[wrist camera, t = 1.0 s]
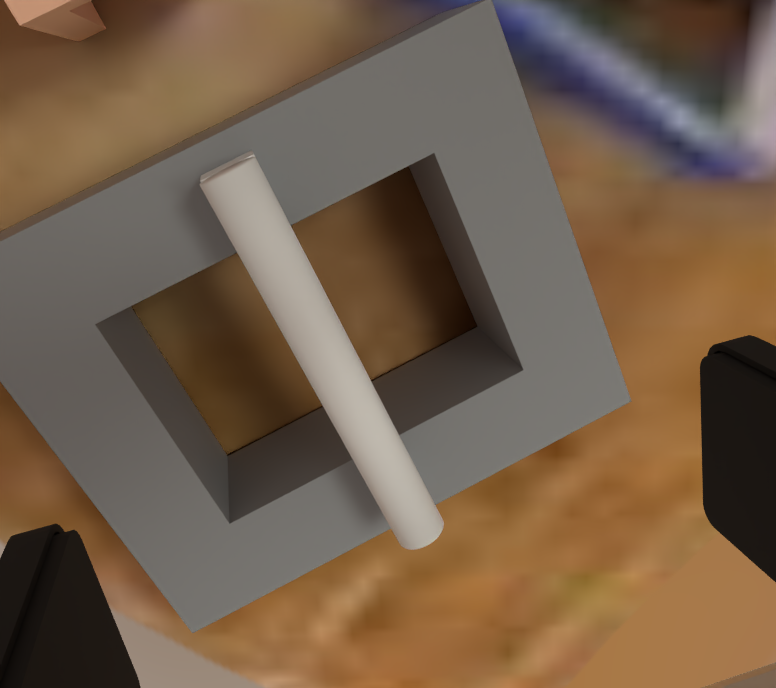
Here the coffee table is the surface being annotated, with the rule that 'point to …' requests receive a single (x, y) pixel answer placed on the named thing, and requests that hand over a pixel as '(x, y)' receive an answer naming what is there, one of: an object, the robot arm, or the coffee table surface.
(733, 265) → the coffee table surface
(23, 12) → the clip
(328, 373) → the grey rectangular frame
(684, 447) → the coffee table surface
